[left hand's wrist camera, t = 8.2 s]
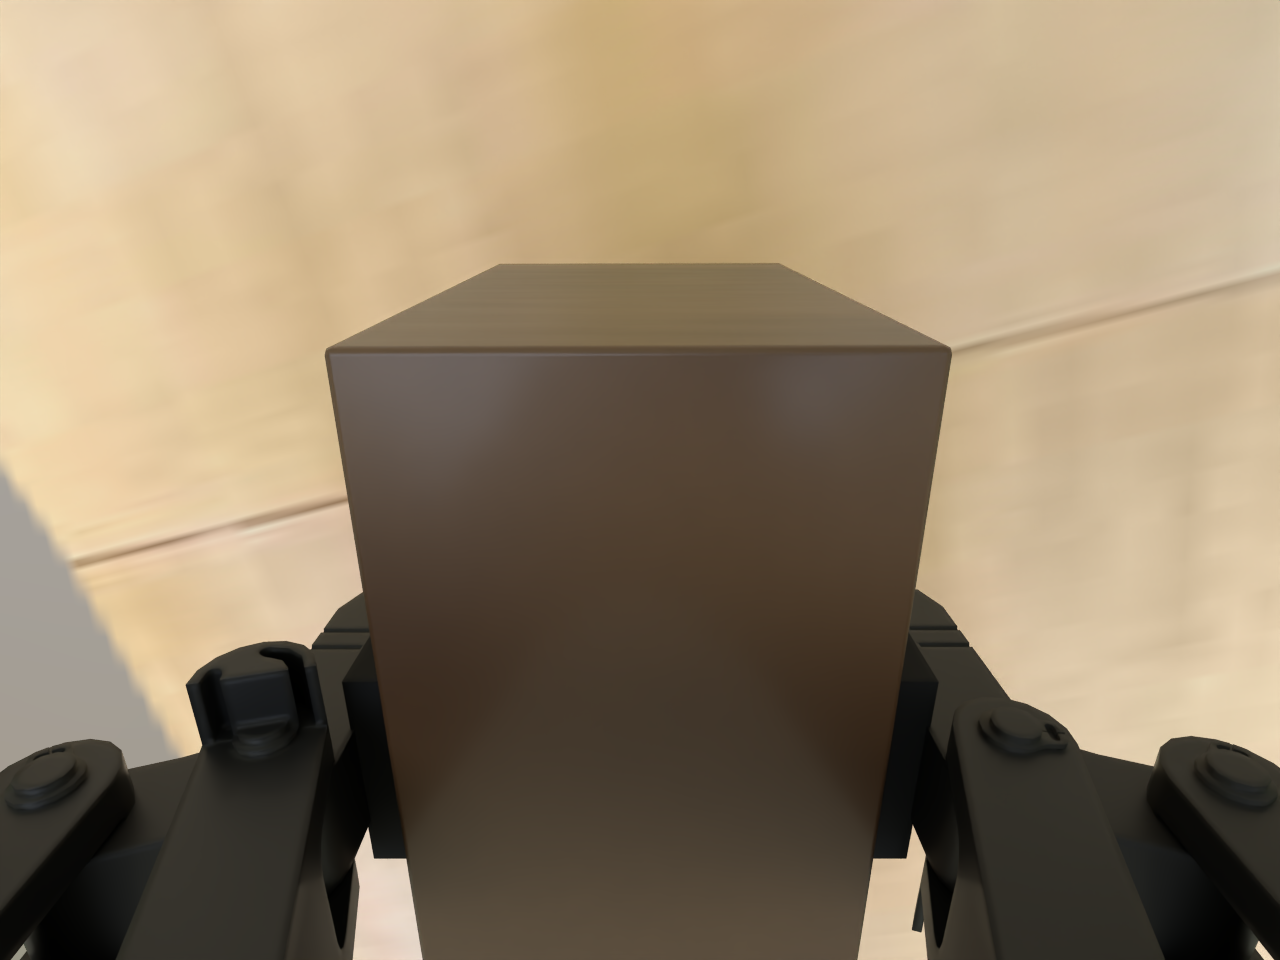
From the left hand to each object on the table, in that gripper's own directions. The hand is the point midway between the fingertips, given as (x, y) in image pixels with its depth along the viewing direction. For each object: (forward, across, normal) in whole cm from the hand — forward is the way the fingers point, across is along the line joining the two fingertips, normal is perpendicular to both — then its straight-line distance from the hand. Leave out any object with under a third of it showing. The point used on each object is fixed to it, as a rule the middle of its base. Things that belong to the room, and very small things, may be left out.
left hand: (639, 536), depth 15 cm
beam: (+1, 0, -29) cm, 29 cm away
